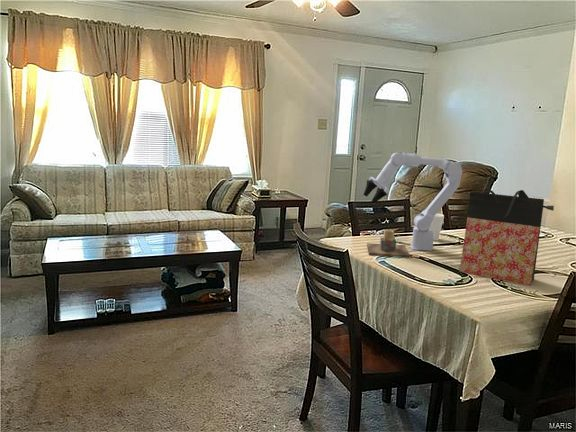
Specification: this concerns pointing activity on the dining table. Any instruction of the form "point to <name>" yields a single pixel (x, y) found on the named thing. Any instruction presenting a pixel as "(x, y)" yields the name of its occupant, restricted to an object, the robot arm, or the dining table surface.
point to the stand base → (387, 249)
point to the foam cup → (436, 225)
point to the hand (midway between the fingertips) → (368, 198)
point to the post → (388, 235)
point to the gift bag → (502, 236)
